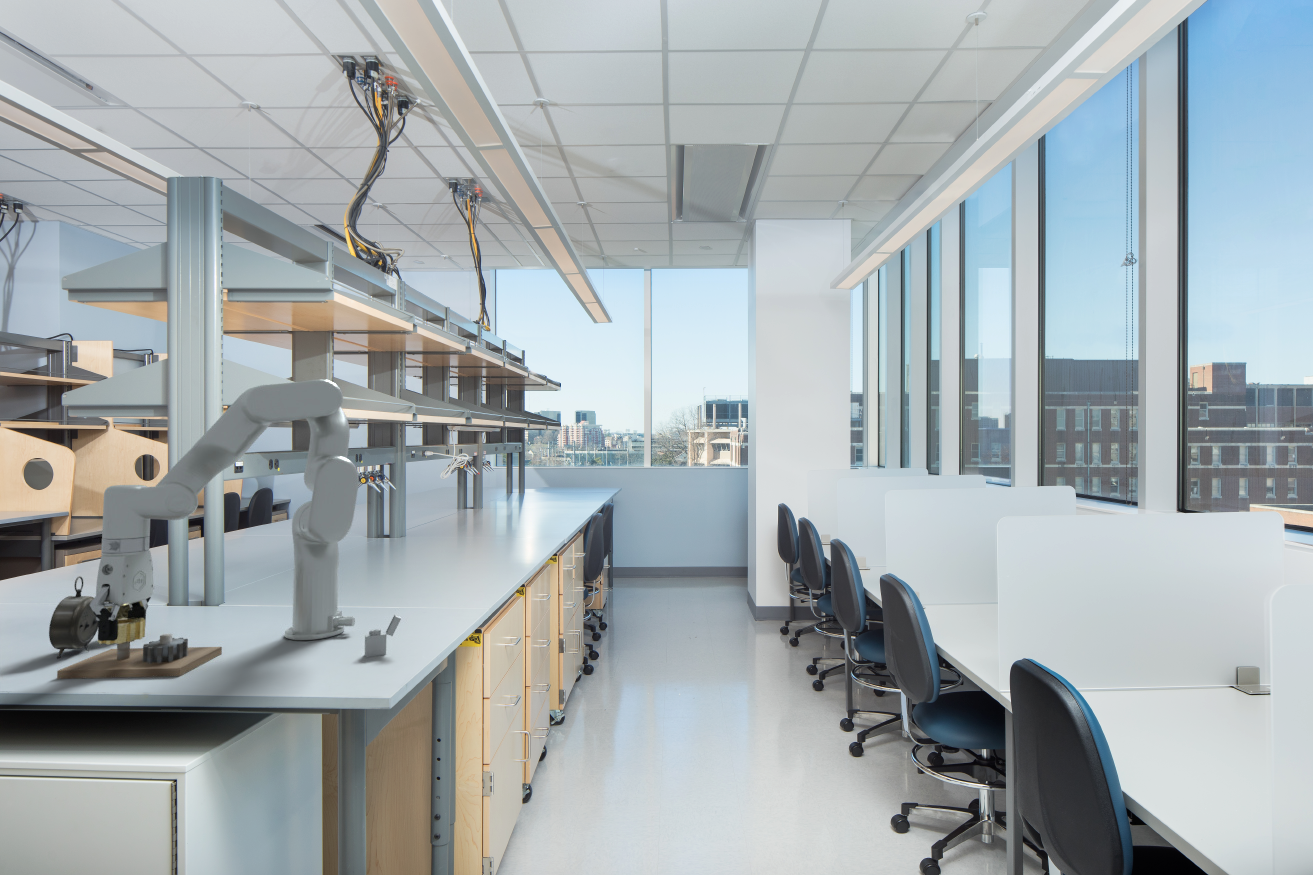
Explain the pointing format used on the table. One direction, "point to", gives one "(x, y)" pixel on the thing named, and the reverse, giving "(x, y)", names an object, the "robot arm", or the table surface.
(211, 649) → the gear board
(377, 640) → the lighter
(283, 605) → the table surface
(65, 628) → the alarm clock
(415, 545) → the table surface
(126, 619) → the brass gear
